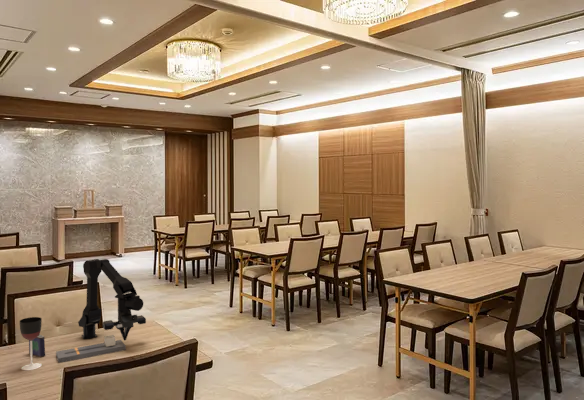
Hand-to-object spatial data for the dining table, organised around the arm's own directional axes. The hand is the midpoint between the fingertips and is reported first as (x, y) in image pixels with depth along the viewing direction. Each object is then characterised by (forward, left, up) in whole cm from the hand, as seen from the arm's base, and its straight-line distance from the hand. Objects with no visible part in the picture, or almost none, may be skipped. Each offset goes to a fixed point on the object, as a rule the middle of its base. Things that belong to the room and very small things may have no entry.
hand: (124, 340), depth 215 cm
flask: (-11, -36, -3) cm, 38 cm away
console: (0, -15, -3) cm, 15 cm away
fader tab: (0, -7, -1) cm, 7 cm away
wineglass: (+3, -39, -3) cm, 39 cm away
